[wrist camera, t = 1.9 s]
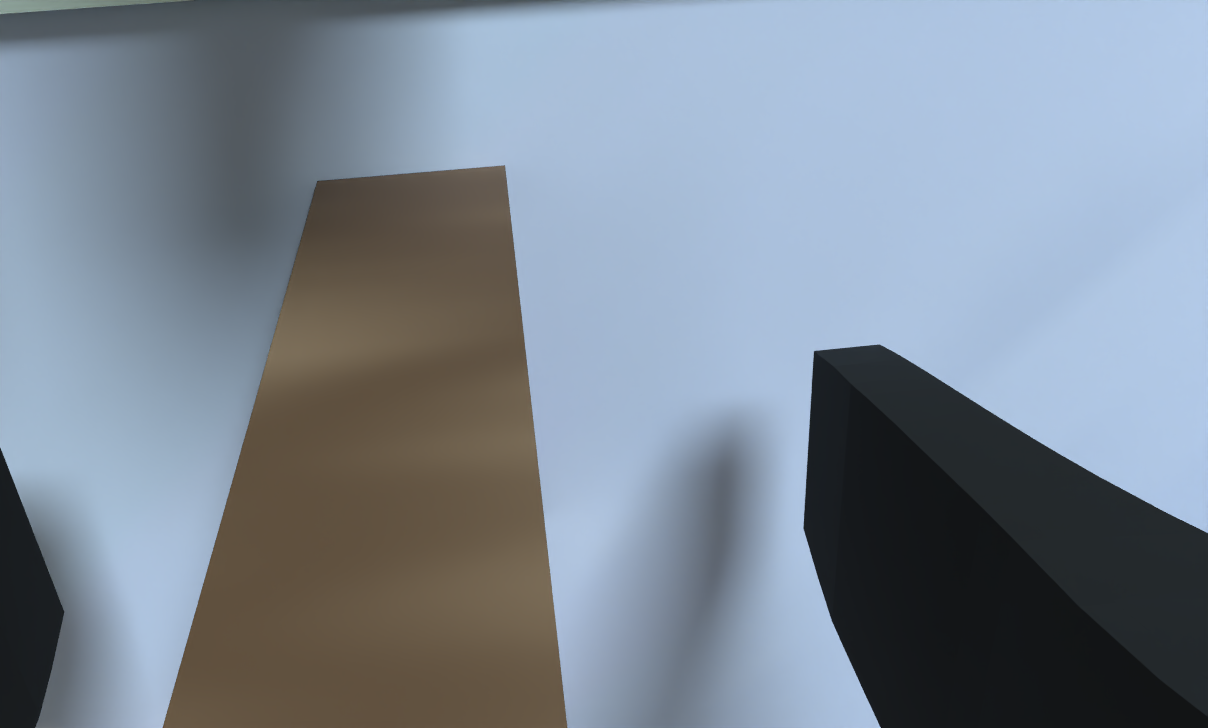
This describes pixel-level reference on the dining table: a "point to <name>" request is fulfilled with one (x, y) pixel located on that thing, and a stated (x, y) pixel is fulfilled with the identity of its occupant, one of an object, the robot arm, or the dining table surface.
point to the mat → (66, 4)
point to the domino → (386, 484)
